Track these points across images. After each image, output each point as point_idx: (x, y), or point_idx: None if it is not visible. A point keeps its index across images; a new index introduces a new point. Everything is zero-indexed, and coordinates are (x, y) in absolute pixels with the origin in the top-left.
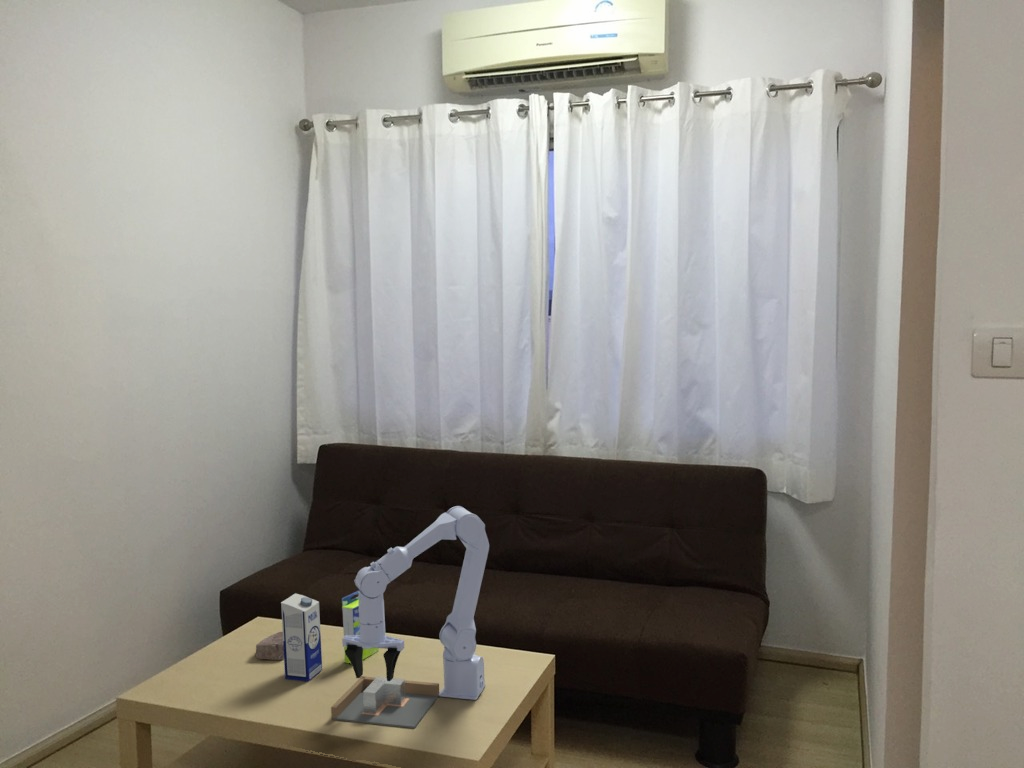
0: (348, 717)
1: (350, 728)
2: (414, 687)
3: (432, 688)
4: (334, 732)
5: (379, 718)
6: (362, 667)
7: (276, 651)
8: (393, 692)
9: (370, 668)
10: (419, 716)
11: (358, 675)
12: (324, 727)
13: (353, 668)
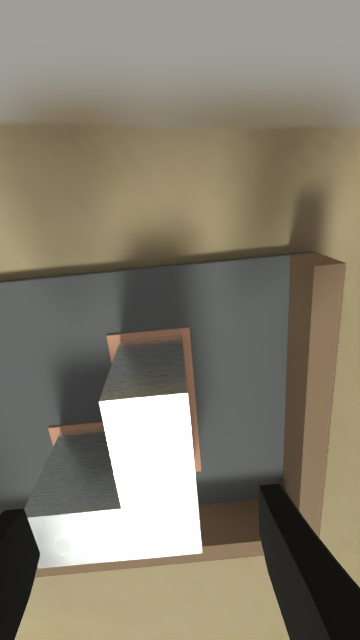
0: (234, 279)
1: (178, 199)
2: None
3: None
4: (239, 132)
5: (85, 315)
6: (277, 595)
7: None
8: (77, 473)
9: None
10: None
11: (266, 504)
12: (316, 167)
13: (335, 560)
